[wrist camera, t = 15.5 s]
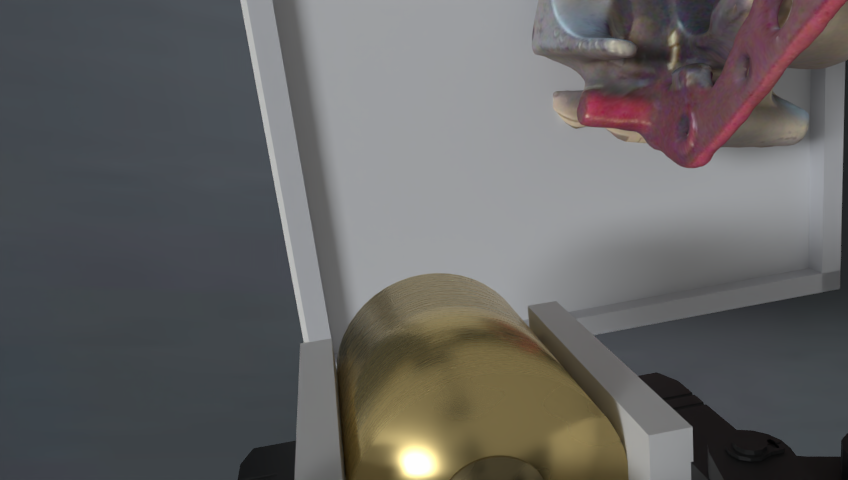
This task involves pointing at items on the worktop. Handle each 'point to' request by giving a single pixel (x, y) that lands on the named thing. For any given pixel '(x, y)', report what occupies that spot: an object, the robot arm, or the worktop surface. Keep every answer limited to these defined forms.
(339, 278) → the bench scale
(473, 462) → the brass spacer
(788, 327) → the worktop surface
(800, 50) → the brake caliper
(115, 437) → the worktop surface
